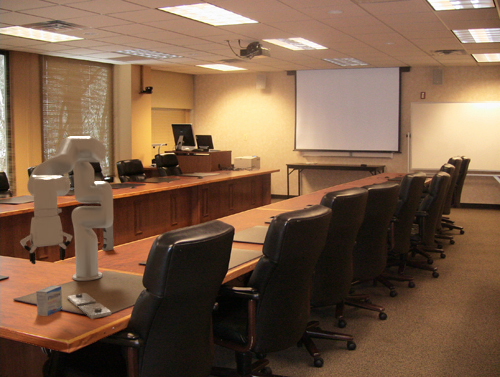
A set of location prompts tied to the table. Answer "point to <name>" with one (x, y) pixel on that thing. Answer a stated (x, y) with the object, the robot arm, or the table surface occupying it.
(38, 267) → the table surface
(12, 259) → the table surface
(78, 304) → the beige hinge strap
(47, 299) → the medicine box
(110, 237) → the vintage mobile phone
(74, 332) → the table surface
